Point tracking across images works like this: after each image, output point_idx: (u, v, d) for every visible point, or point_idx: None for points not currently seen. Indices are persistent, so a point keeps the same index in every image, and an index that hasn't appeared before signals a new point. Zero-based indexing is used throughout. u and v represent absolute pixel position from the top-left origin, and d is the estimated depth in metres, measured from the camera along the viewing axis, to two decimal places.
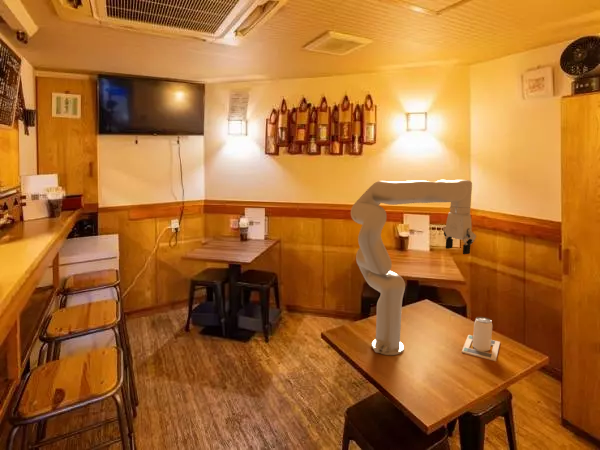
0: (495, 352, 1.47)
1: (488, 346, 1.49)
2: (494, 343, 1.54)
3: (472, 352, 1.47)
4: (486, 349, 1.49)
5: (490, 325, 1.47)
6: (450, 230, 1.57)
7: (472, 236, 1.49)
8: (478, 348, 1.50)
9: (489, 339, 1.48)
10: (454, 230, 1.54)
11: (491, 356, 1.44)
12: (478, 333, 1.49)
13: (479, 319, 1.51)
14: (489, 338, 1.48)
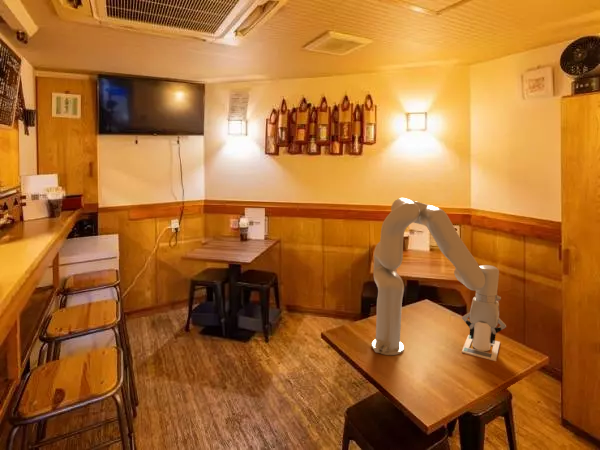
0: (495, 352, 1.47)
1: (488, 346, 1.49)
2: (494, 343, 1.54)
3: (472, 352, 1.47)
4: (486, 349, 1.49)
5: None
6: None
7: None
8: (478, 348, 1.50)
9: (489, 339, 1.48)
10: None
11: (491, 356, 1.44)
12: (478, 333, 1.49)
13: None
14: (489, 338, 1.48)
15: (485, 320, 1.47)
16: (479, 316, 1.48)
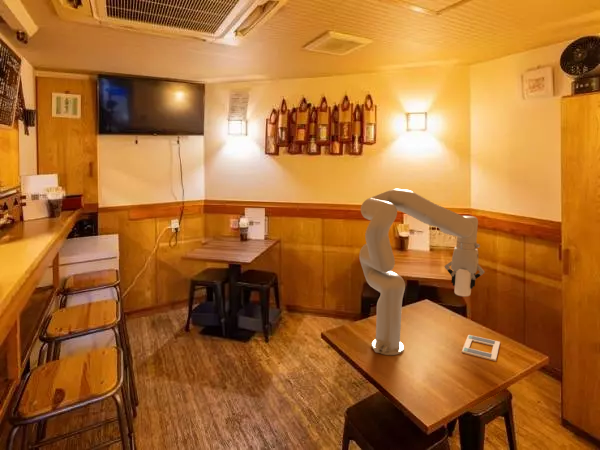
0: (495, 352, 1.47)
1: (468, 291, 1.59)
2: (494, 343, 1.54)
3: (472, 352, 1.47)
4: (466, 294, 1.59)
5: None
6: None
7: None
8: (459, 293, 1.60)
9: (469, 285, 1.59)
10: None
11: (491, 356, 1.44)
12: (459, 279, 1.60)
13: None
14: (469, 284, 1.59)
15: (465, 266, 1.58)
16: (459, 263, 1.59)
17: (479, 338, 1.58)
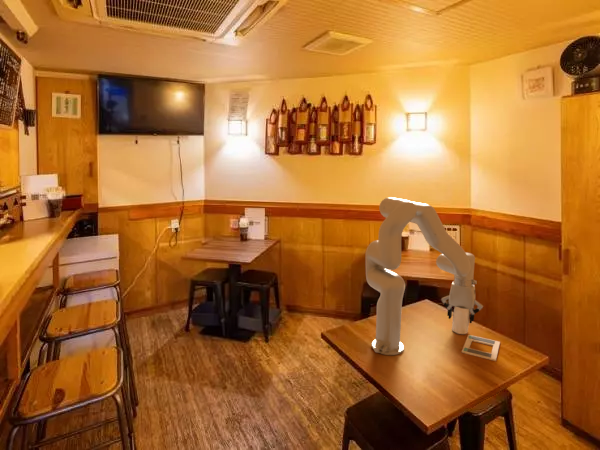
0: (495, 352, 1.47)
1: (465, 329, 1.63)
2: (494, 343, 1.54)
3: (472, 352, 1.47)
4: (464, 332, 1.63)
5: (468, 310, 1.61)
6: None
7: None
8: (456, 331, 1.63)
9: (467, 323, 1.62)
10: None
11: (491, 356, 1.44)
12: (457, 318, 1.63)
13: None
14: (467, 322, 1.62)
15: (463, 302, 1.61)
16: (457, 299, 1.62)
17: (479, 338, 1.58)
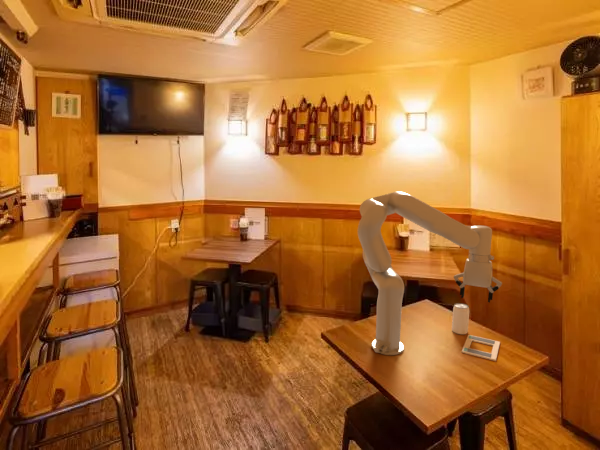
0: (495, 352, 1.47)
1: (465, 329, 1.63)
2: (494, 343, 1.54)
3: (472, 352, 1.47)
4: (463, 332, 1.63)
5: (467, 310, 1.61)
6: None
7: None
8: (456, 331, 1.63)
9: (466, 323, 1.62)
10: None
11: (491, 356, 1.44)
12: (456, 318, 1.63)
13: (457, 305, 1.65)
14: (466, 322, 1.62)
15: (479, 280, 1.47)
16: (472, 277, 1.48)
17: (479, 338, 1.58)
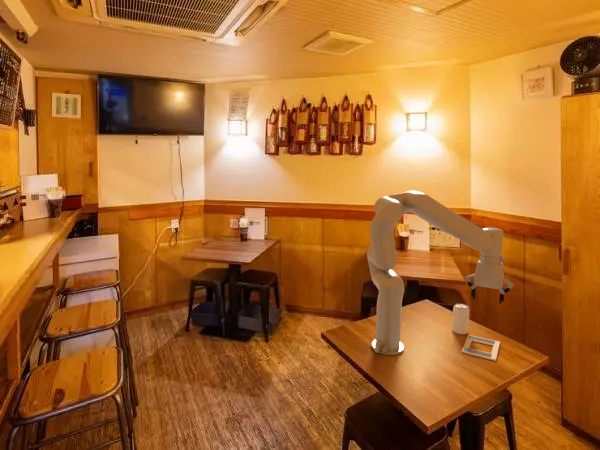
0: (495, 352, 1.47)
1: (465, 330, 1.63)
2: (494, 343, 1.54)
3: (472, 352, 1.47)
4: (463, 332, 1.63)
5: (467, 310, 1.61)
6: None
7: None
8: (456, 331, 1.63)
9: (466, 323, 1.62)
10: None
11: (491, 356, 1.44)
12: (456, 318, 1.63)
13: (457, 305, 1.65)
14: (466, 322, 1.62)
15: (490, 281, 1.48)
16: (483, 278, 1.49)
17: (479, 338, 1.58)
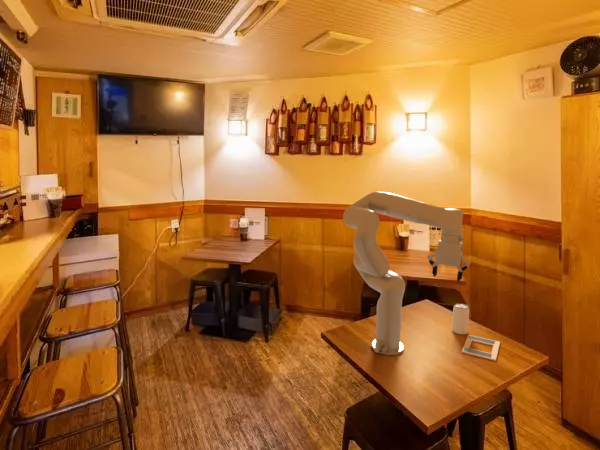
0: (495, 352, 1.47)
1: (465, 330, 1.63)
2: (494, 343, 1.54)
3: (472, 352, 1.47)
4: (463, 332, 1.63)
5: (467, 310, 1.61)
6: None
7: None
8: (456, 331, 1.63)
9: (466, 323, 1.62)
10: None
11: (491, 356, 1.44)
12: (456, 318, 1.63)
13: (457, 305, 1.65)
14: (466, 322, 1.62)
15: (449, 259, 1.56)
16: (443, 256, 1.57)
17: (479, 338, 1.58)
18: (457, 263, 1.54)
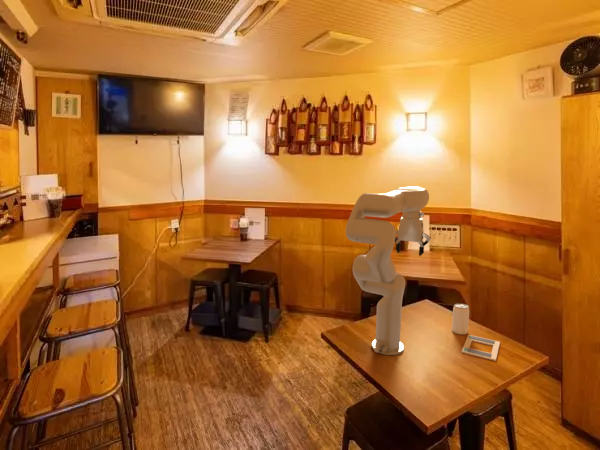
0: (495, 352, 1.47)
1: (465, 330, 1.63)
2: (494, 343, 1.54)
3: (472, 352, 1.47)
4: (463, 332, 1.63)
5: (467, 310, 1.61)
6: None
7: None
8: (456, 331, 1.63)
9: (466, 323, 1.62)
10: None
11: (491, 356, 1.44)
12: (456, 318, 1.63)
13: (457, 305, 1.65)
14: (466, 322, 1.62)
15: (411, 235, 1.63)
16: (405, 233, 1.64)
17: (479, 338, 1.58)
18: (418, 238, 1.62)
